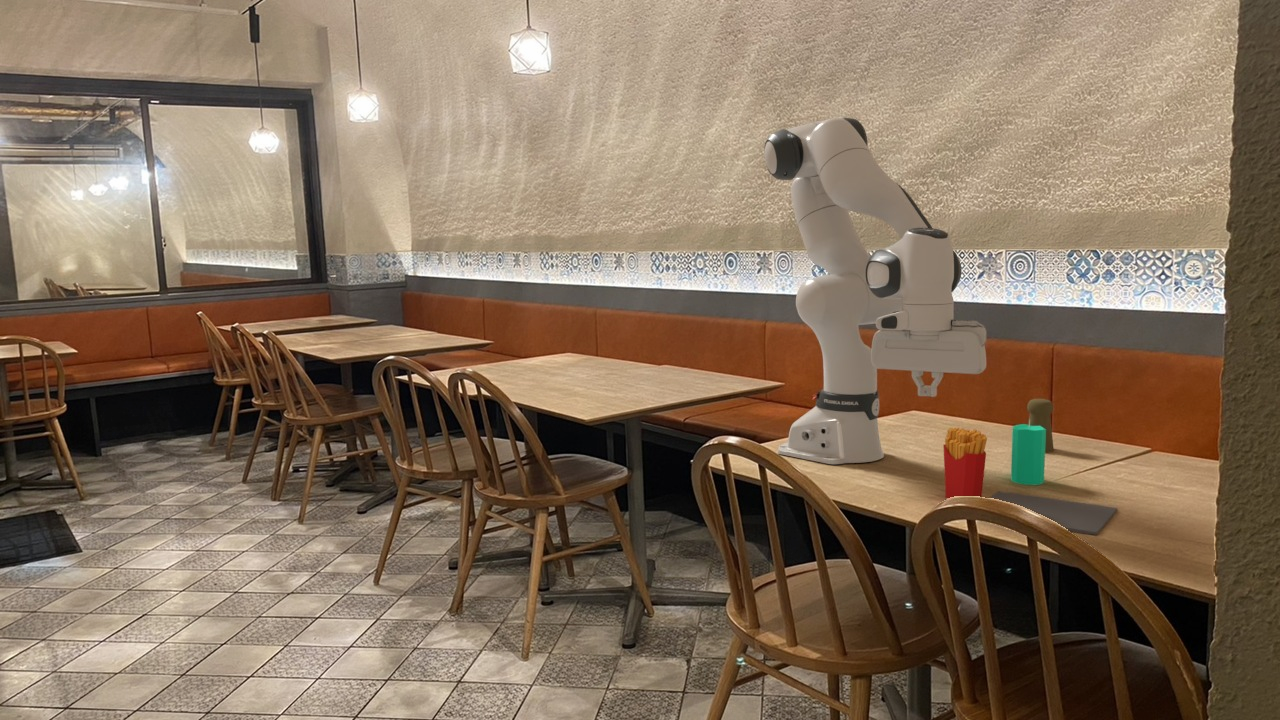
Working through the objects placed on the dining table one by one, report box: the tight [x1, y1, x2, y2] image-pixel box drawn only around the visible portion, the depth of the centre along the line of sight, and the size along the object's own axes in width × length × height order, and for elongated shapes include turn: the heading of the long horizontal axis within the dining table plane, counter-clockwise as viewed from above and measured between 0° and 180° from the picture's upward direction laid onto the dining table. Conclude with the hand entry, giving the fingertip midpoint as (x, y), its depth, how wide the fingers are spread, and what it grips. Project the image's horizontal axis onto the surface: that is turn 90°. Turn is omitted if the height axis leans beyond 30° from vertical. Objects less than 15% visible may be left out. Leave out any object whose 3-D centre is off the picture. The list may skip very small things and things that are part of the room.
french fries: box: [943, 427, 988, 499], centre depth 176 cm, size 9×4×13 cm, turn 23°
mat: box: [989, 490, 1118, 536], centre depth 169 cm, size 20×16×1 cm
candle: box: [1010, 418, 1046, 486], centre depth 189 cm, size 6×6×12 cm
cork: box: [1026, 398, 1054, 453], centre depth 214 cm, size 6×6×11 cm
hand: (927, 396), depth 179 cm, fingers closed
